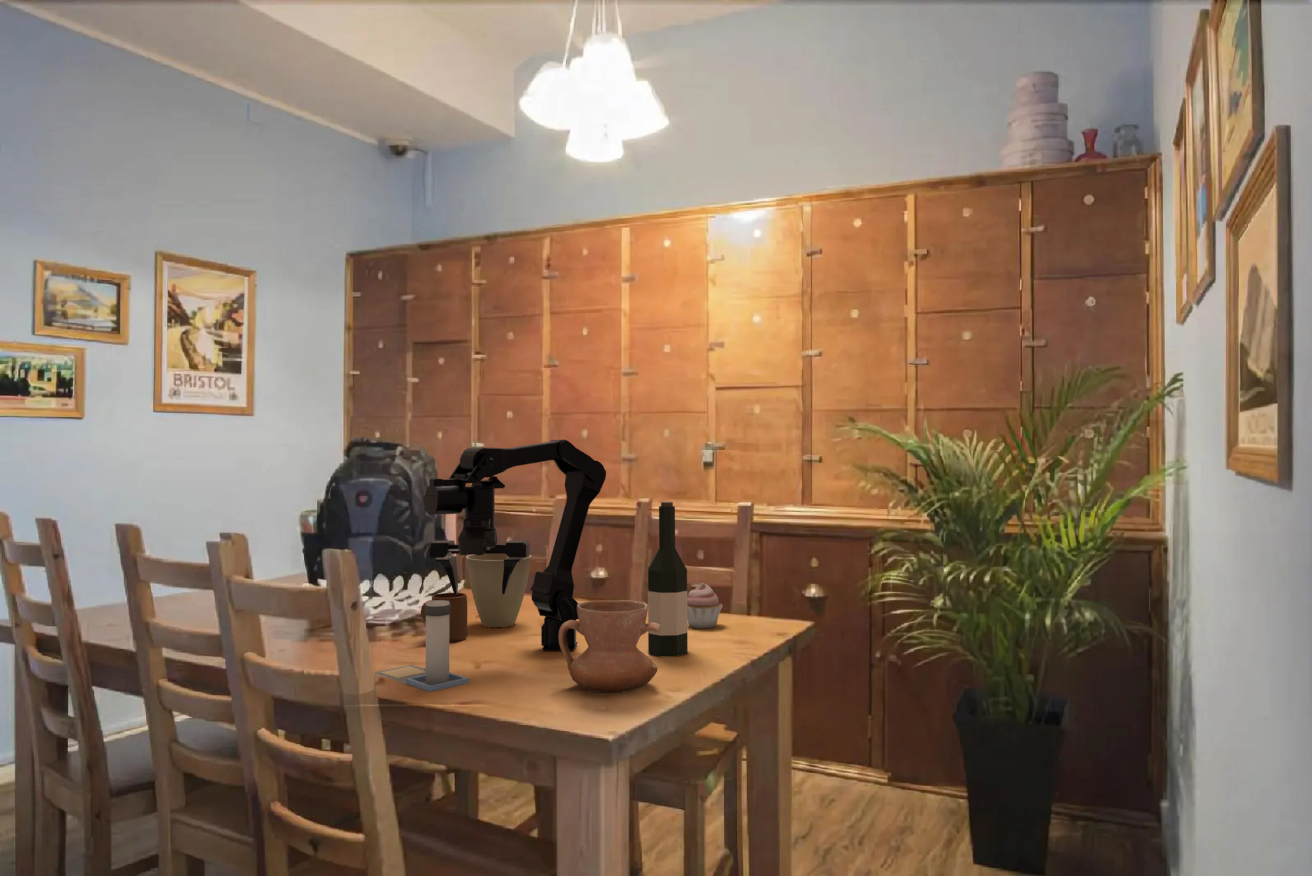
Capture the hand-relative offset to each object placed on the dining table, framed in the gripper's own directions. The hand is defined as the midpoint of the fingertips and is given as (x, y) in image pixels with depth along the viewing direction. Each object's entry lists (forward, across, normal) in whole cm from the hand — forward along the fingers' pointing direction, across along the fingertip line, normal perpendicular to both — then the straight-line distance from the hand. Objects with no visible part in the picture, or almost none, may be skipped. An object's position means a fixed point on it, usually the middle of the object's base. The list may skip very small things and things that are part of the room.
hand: (479, 594), depth 173 cm
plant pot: (+13, -3, +36) cm, 39 cm away
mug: (+13, -12, +19) cm, 26 cm away
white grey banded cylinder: (+13, -4, -16) cm, 21 cm away
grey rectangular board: (+13, -8, -13) cm, 20 cm away
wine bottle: (+13, +36, +8) cm, 39 cm away
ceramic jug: (+13, +26, -18) cm, 34 cm away
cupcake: (+13, +44, +34) cm, 57 cm away
